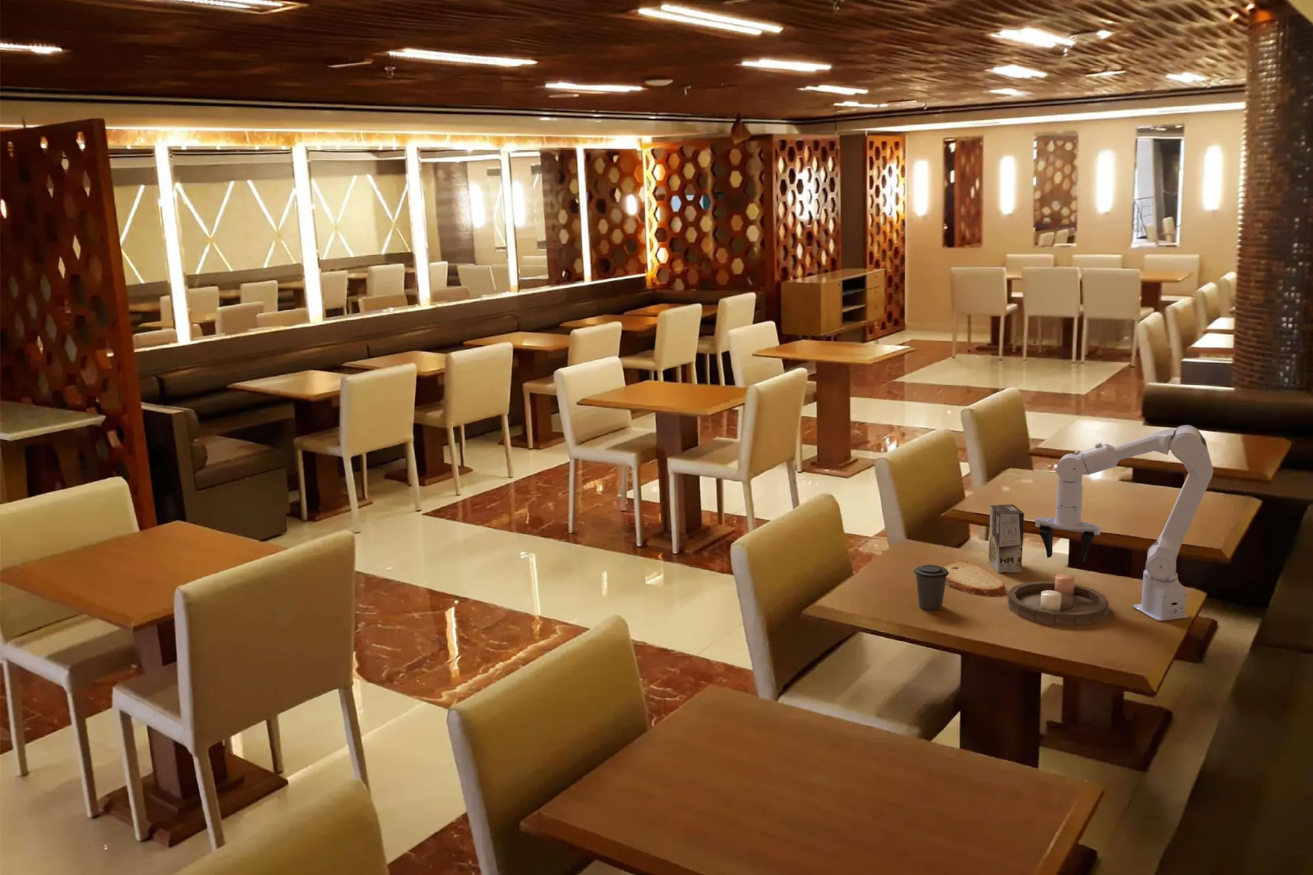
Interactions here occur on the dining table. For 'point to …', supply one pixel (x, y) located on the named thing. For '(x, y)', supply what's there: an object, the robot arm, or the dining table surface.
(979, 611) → the dining table surface
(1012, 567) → the coffee box
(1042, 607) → the translucent white cylinder
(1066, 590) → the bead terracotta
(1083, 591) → the groove tray
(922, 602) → the coffee cup
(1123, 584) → the dining table surface
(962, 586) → the bread slice
